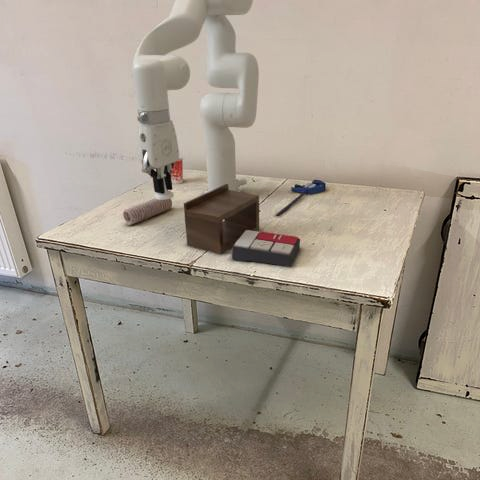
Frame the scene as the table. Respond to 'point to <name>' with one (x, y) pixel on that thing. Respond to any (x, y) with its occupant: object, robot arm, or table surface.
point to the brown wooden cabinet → (220, 218)
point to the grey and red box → (266, 248)
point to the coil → (146, 210)
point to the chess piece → (167, 193)
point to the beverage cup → (177, 171)
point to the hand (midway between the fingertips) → (163, 190)
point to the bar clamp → (306, 191)
